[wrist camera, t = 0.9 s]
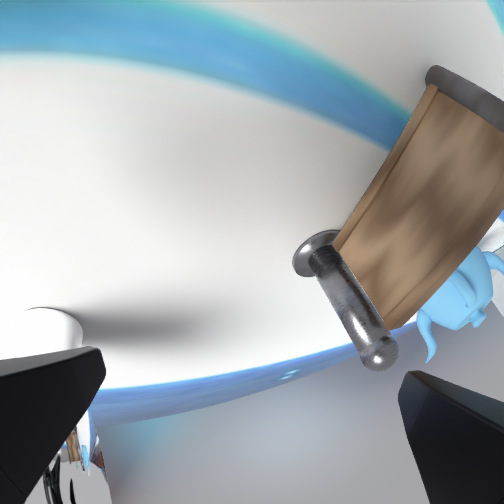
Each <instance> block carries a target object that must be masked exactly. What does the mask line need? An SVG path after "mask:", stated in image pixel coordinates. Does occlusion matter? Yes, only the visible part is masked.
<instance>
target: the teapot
mask: <svg viewBox="0 0 504 504" xmlns="http://www.w3.org/2000/svg"><path fill="white" fill-rule="evenodd" d="M490 269H496V270H498V271H500V272H501V273H502V274H503V275H504V261H503V260H502V259H501V258H500V257H499V256H498V255H497V254H495V253H493V252H489V251H486V252H482V251H481V250H480V249H479V248H478V247H476V246H475V248H474V249H473V250H472V251H471V253H470V254H469V255H468V256H467V257H466V259H465V260H464V261H463V262H462V263H461V264H460V266H459V267H458V268H457V269H456V270H455V271H454V273H453V274H452V275H451V276H450V277H449V278H448V279H447V280H446V282H445V283H444V284H443V285H442V286H441V287H440V288H439V289H438V290H437V291H436V292H435V294H434V295H433V296H432V297H431V298H430V299H429V300H428V301H427V302H426V303H425V304H424V305H423V306H422V307H421V308H420V309H419V310H418V313H417V326H418V328H419V330H420V333H421V334H422V336H423V338H424V339H425V341H426V344H427V346H428V357H427V361H426V363H427V362H428V361H429V360H430V359H431V357H432V356H433V355H434V354H435V352H436V350H437V345H436V342H435V339H434V337H433V335H432V333H431V329H430V326H431V321H434V322H436V323H438V324H440V325H442V326H445V327H447V328H450V329H453V330H458V329H460V328H461V327H463V326H464V325H466V324H467V323H468V322H470V321H471V323H472V325H473V327H478V326H479V325H480V323H481V322H482V321H483V320H484V319H485V318H486V316H487V315H486V314H485V313H484V312H482V310H483V309H484V307H486V305H487V304H488V303H489V302H490V301H491V299H492V298H493V283H492V276H491V271H490Z"/></svg>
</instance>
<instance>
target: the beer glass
mask: <svg viewBox="0 0 504 504" xmlns="http://www.w3.org/2000/svg"><path fill="white" fill-rule="evenodd" d="M16 334H17V344H18V358H19V357H26V356H33V355H39V354H45V353H52V352H58V351H63V350H69V349H75V348H80V347H81V346H82V339H83V330H82V327H81V325H80V324H79V322H78V321H77V320H76V319H74V318H73V317H72V316H70V315H68V314H66V313H64V312H62V311H59V310H55V309H49V308H34V309H30V310H27V311H25V312H23V313H22V314H21V315H20V316H19V317H18V319H17V322H16ZM25 504H112V502H111V497H110V491H109V485H108V480H107V474H106V469H105V464H104V459H103V455H102V450H101V446H100V442H99V438H98V435H97V432H96V428H95V425H94V422H93V419H92V415H91V412H90V409H89V408H88V409H87V411H86V412H85V414H84V415H83V417H82V418H81V420H80V421H79V422H78V424H77V425H76V427H75V428H74V430H73V431H72V432H71V434H70V435H69V437H68V438H67V440H66V441H65V443H64V444H63V445H62V447H61V448H60V450H59V451H58V453H57V454H56V456H55V457H54V459H53V460H52V462H51V463H50V465H49V466H48V468H47V469H46V471H45V472H44V474H43V475H42V477H41V478H40V480H39V481H38V483H37V484H36V486H35V487H34V489H33V491H32V492H31V494H30V495H29V497H28V498H27V500H26V502H25Z"/></svg>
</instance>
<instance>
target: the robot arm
mask: <svg viewBox="0 0 504 504" xmlns="http://www.w3.org/2000/svg"><path fill="white" fill-rule="evenodd" d="M105 376H106V368H105V364H104V361H103V357H102V353H101V351H100V349H98V348H95V347H91V346H86V347H80V348H75V349H69V350H63V351H58V352H52V353H45V354H39V355H33V356H26V357H19V358H12V359H5V360H0V504H25V502H26V500H27V498H28V497H29V495H30V494H31V492H32V491H33V489H34V487H35V486H36V484H37V483H38V481H39V480H40V478H41V477H42V475H43V474H44V472H45V471H46V469H47V468H48V466H49V465H50V463H51V462H52V460H53V459H54V457H55V456H56V454H57V453H58V451H59V450H60V448H61V447H62V445H63V444H64V443H65V441H66V440H67V438H68V437H69V435H70V434H71V432H72V431H73V430H74V428H75V427H76V425H77V424H78V422H79V421H80V420H81V418H82V417H83V415H84V414H85V412H86V411H87V409H88V408H89V406H90V404H91V403H92V401H93V399H94V397H95V395H96V393H97V391H98V390H99V388H100V386H101V384H102V382H103V381H104V379H105ZM398 403H399V406H400V410H401V414H402V419H403V423H404V427H405V431H406V435H407V438H408V441H409V444H410V447H411V450H412V452H413V455H414V458H415V460H416V463H417V466H418V469H419V472H420V475H421V478H422V481H423V484H424V486H425V490H426V492H427V496H428V499H429V502H430V504H504V402H501V401H499V400H496V399H493V398H490V397H487V396H485V395H482V394H479V393H477V392H474V391H471V390H469V389H466V388H463V387H461V386H458V385H455V384H453V383H450V382H448V381H445V380H443V379H440V378H437V377H435V376H432V375H430V374H427V373H425V372H422V371H419V370H416V371H408V372H407V373H406V374H405V377H404V379H403V382H402V385H401V388H400V390H399V393H398Z"/></svg>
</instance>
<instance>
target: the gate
mask: <svg viewBox="0 0 504 504" xmlns="http://www.w3.org/2000/svg"><path fill="white" fill-rule="evenodd" d="M425 82H426V87H427V88H426V90H425V92H424V94H423V95H422V97H421V99H420V101H419V103H418V105H417V106H416V108H415V110H414V112H413V114H412V115H411V117H410V119H409V121H408V122H407V124H406V126H405V128H404V129H403V131H402V133H401V135H400V136H399V138H398V140H397V141H396V143H395V145H394V147H393V148H392V150H391V152H390V153H389V155H388V157H387V158H386V160H385V162H384V163H383V165H382V167H381V168H380V170H379V172H378V173H377V175H376V176H375V178H374V180H373V181H372V183H371V184H370V186H369V188H368V189H367V191H366V192H365V194H364V196H363V197H362V199H361V200H360V202H359V204H358V205H357V207H356V208H355V210H354V211H353V213H352V214H351V216H350V217H349V219H348V221H347V222H346V224H345V225H344V227H343V228H342V230H341V231H340V233H339V234H338V236H337V237H336V239H335V240H334V242H333V245H332V246H333V247H334V249H335V250H336V252H339V253H340V255H341V256H342V258H343V259H344V261H345V262H346V264H347V265H348V267H349V268H350V270H351V271H352V273H353V274H354V276H355V277H356V279H357V280H358V282H359V283H360V285H361V286H362V288H363V289H364V291H365V293H366V294H367V296H368V297H369V299H370V300H371V302H372V303H373V305H374V307H375V308H376V310H377V311H378V313H379V315H380V316H381V318H382V319H383V322H382V323H383V324H384V326H385V328H386V329H387V331H389V330H393V329H397V328H400V327H402V326H403V325H404V324H405V323H406V322H407V321H408V320H409V319H410V318H411V317H412V316H413V315H414V314H415V313H416V312H417V311H418V310H419V309H420V308H421V307H422V306H423V305H424V304H425V303H426V302H427V301H428V300H429V299H430V298H431V297H432V296H433V295H434V294H435V292H436V291H437V290H438V289H439V288H440V287H441V286H442V285H443V284H444V283H445V282H446V280H447V279H448V278H449V277H450V276H451V275H452V274H453V273H454V271H455V270H456V269H457V268H458V267H459V266H460V264H461V263H462V262H463V261H464V260H465V259H466V257H467V256H468V255H469V254H470V253H471V251H472V250H473V249H474V248H475V246H476V245H477V244H478V243H479V241H480V240H481V239H482V237H483V236H484V235H485V234H486V232H487V231H488V230H489V228H490V227H491V226H492V224H493V223H494V221H495V220H496V219H497V217H498V216H499V215H500V213H501V212H502V210H503V209H504V101H502V100H500V99H499V98H497V97H496V96H494V95H492V94H491V93H489V92H487V91H486V90H484V89H482V88H481V87H479V86H477V85H475V84H474V83H472V82H470V81H468V80H466V79H464V78H462V77H461V76H459V75H457V74H455V73H453V72H451V71H449V70H447V69H445V68H443V67H440V66H438V65H435V66H433V67H431V68H430V69H429V71H428V72H427V75H426V80H425Z"/></svg>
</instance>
